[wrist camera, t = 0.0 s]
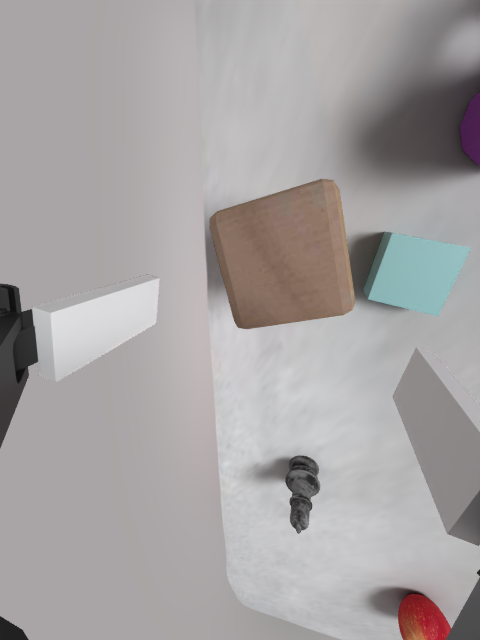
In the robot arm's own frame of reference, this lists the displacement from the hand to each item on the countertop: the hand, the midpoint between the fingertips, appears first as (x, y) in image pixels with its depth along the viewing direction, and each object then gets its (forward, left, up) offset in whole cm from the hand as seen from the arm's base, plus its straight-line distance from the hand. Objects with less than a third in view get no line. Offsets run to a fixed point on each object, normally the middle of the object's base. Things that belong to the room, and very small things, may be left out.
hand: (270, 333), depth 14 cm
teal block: (-2, +13, -28) cm, 31 cm away
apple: (+57, +38, -28) cm, 74 cm away
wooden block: (-2, -1, -28) cm, 28 cm away
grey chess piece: (+36, +10, -28) cm, 47 cm away
